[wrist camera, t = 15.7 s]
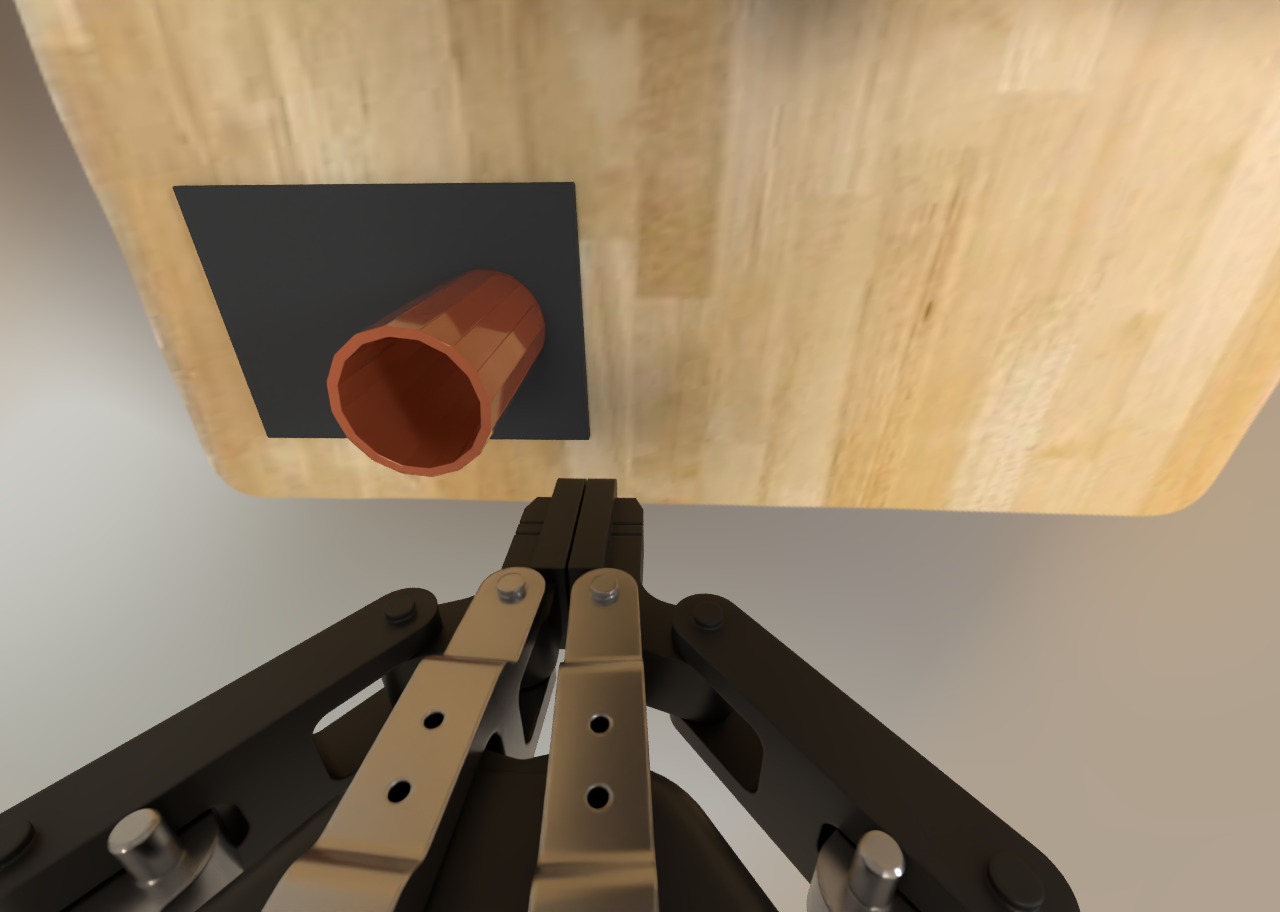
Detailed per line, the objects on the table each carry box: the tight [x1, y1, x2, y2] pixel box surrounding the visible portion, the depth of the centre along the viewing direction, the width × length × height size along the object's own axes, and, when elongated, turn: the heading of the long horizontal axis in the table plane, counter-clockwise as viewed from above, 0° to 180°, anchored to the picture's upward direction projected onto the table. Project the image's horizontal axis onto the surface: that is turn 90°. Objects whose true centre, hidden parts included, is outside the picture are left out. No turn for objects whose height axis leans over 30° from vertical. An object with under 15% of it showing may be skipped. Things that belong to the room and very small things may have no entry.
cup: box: [327, 269, 545, 477], centre depth 25 cm, size 6×6×11 cm
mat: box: [173, 182, 590, 440], centre depth 30 cm, size 20×14×1 cm
